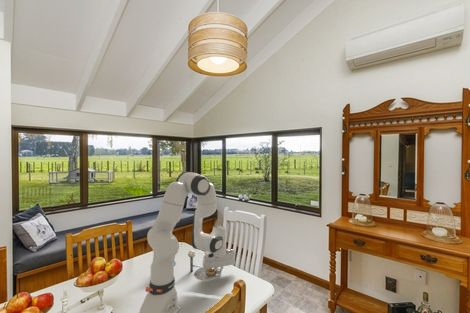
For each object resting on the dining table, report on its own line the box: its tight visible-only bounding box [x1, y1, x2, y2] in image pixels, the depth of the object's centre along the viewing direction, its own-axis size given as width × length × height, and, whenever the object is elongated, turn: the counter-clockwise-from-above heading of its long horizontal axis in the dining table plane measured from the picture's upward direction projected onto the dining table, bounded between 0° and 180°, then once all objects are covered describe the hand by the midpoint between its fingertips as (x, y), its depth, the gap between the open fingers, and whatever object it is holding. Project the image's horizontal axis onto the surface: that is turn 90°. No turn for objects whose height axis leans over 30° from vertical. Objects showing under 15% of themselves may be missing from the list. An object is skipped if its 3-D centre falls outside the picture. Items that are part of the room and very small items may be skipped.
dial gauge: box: [187, 250, 201, 273], centre depth 147 cm, size 8×4×15 cm, turn 78°
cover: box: [206, 268, 217, 276], centre depth 145 cm, size 7×7×4 cm
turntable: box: [193, 266, 222, 282], centre depth 147 cm, size 20×17×4 cm
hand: (218, 273), depth 143 cm, fingers closed
